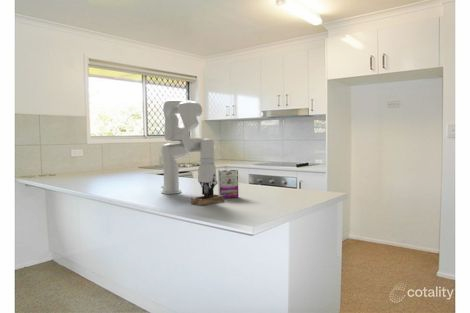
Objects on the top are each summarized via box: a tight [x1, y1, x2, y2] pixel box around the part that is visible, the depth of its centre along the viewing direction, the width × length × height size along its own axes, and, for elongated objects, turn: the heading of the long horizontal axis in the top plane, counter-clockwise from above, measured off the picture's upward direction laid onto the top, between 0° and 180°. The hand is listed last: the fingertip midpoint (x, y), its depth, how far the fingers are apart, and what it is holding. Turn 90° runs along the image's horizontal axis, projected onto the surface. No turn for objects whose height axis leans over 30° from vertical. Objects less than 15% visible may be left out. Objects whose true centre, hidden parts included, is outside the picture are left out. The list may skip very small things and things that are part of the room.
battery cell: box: [203, 183, 212, 199], centre depth 187 cm, size 4×4×10 cm
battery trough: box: [190, 193, 225, 207], centre depth 187 cm, size 9×16×3 cm, turn 140°
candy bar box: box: [217, 168, 239, 199], centre depth 201 cm, size 11×5×16 cm, turn 105°
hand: (207, 194), depth 187 cm, fingers open, 4 cm apart
